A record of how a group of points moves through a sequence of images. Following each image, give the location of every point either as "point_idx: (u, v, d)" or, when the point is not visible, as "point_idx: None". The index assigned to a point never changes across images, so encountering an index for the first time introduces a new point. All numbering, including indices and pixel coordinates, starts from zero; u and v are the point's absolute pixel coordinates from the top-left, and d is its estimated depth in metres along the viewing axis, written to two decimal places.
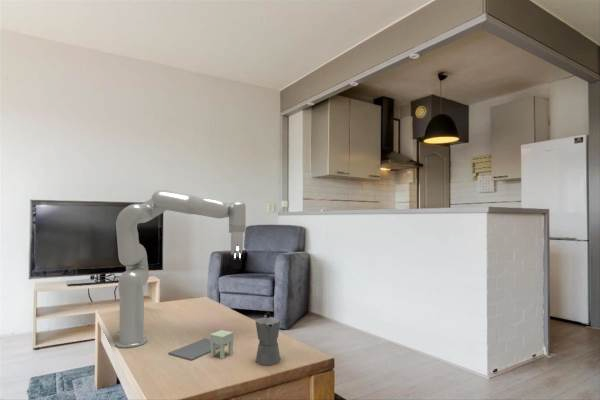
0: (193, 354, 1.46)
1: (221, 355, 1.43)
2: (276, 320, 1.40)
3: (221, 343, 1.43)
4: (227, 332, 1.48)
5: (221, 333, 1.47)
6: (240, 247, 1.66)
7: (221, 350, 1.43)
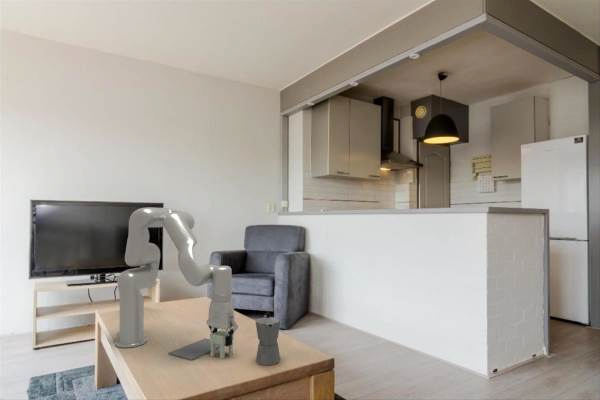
0: (193, 354, 1.46)
1: (221, 355, 1.43)
2: (276, 320, 1.40)
3: (221, 343, 1.43)
4: None
5: (221, 333, 1.47)
6: (233, 320, 1.46)
7: (221, 350, 1.43)
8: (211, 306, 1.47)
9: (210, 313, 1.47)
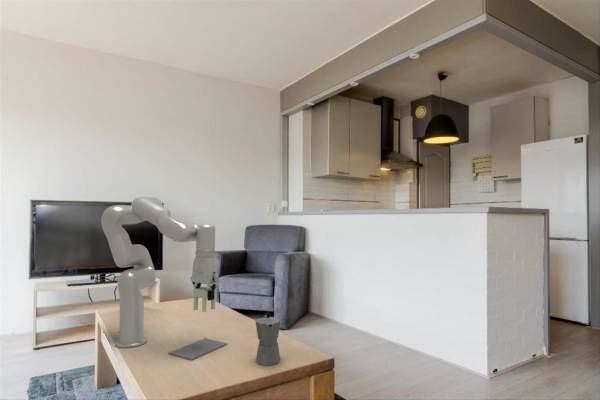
0: (193, 354, 1.46)
1: (203, 308, 1.49)
2: (276, 320, 1.40)
3: (203, 297, 1.48)
4: None
5: (204, 288, 1.53)
6: None
7: (203, 304, 1.49)
8: (195, 262, 1.52)
9: (194, 269, 1.52)
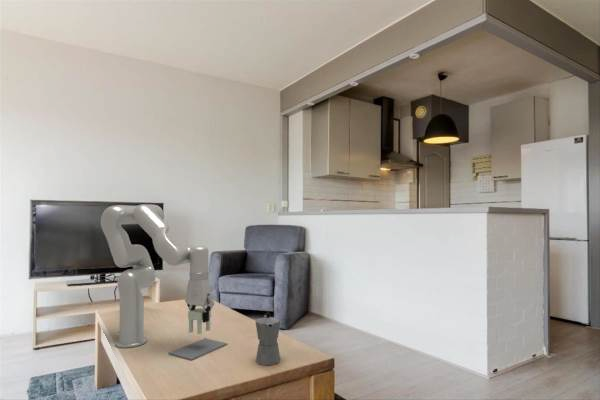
0: (193, 354, 1.46)
1: (198, 330, 1.50)
2: (276, 320, 1.40)
3: (198, 319, 1.50)
4: None
5: (199, 310, 1.54)
6: (210, 298, 1.53)
7: (198, 326, 1.50)
8: (189, 284, 1.54)
9: (188, 291, 1.54)
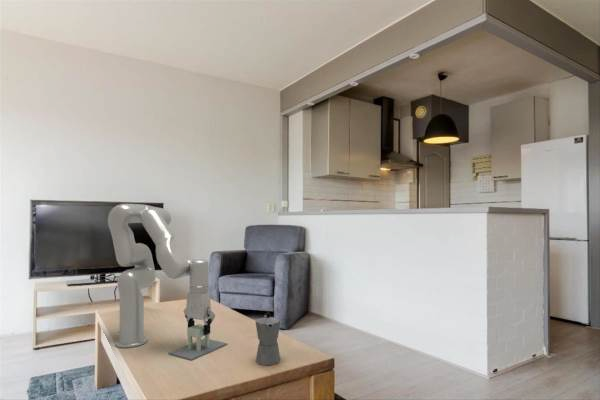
0: (193, 354, 1.46)
1: (197, 348, 1.50)
2: (276, 320, 1.40)
3: (197, 336, 1.50)
4: None
5: (198, 327, 1.54)
6: None
7: (197, 343, 1.50)
8: (188, 297, 1.54)
9: (188, 304, 1.54)
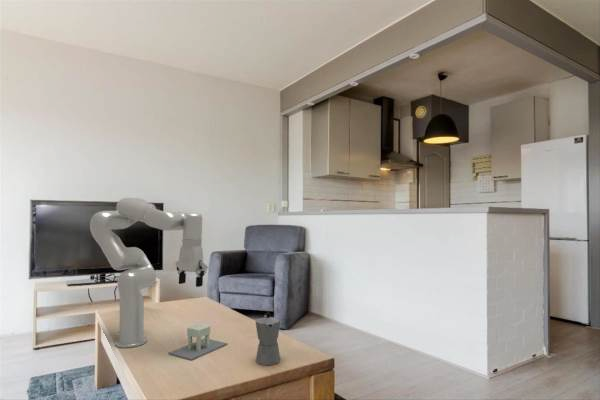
0: (193, 354, 1.46)
1: (197, 348, 1.50)
2: (276, 320, 1.40)
3: (197, 336, 1.50)
4: (204, 326, 1.55)
5: (198, 327, 1.54)
6: (202, 263, 1.53)
7: (197, 343, 1.50)
8: (181, 250, 1.54)
9: (180, 257, 1.54)
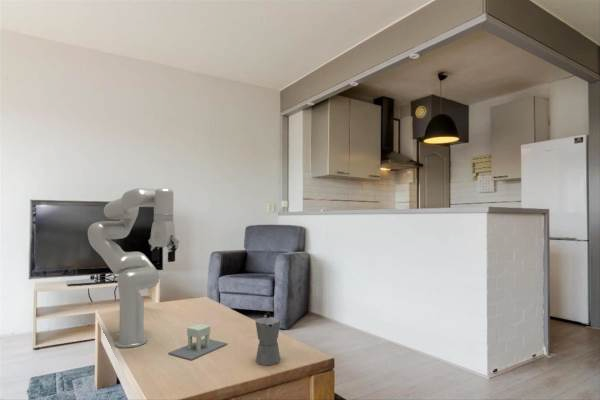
0: (193, 354, 1.46)
1: (197, 348, 1.50)
2: (276, 320, 1.40)
3: (197, 336, 1.50)
4: (204, 326, 1.55)
5: (198, 327, 1.54)
6: None
7: (197, 343, 1.50)
8: (153, 226, 1.53)
9: (152, 233, 1.53)
